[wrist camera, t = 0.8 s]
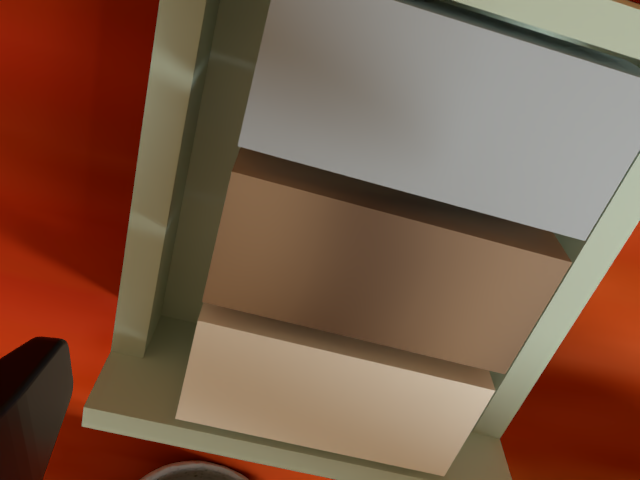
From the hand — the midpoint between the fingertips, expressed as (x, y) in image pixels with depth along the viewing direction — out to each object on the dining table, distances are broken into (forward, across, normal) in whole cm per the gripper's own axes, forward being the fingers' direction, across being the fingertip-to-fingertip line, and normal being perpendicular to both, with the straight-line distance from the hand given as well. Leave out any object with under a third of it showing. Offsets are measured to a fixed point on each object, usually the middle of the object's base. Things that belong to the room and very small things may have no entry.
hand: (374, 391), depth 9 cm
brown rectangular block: (+8, -1, +2) cm, 8 cm away
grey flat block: (+8, -1, -3) cm, 8 cm away
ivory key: (+8, 0, +6) cm, 9 cm away
